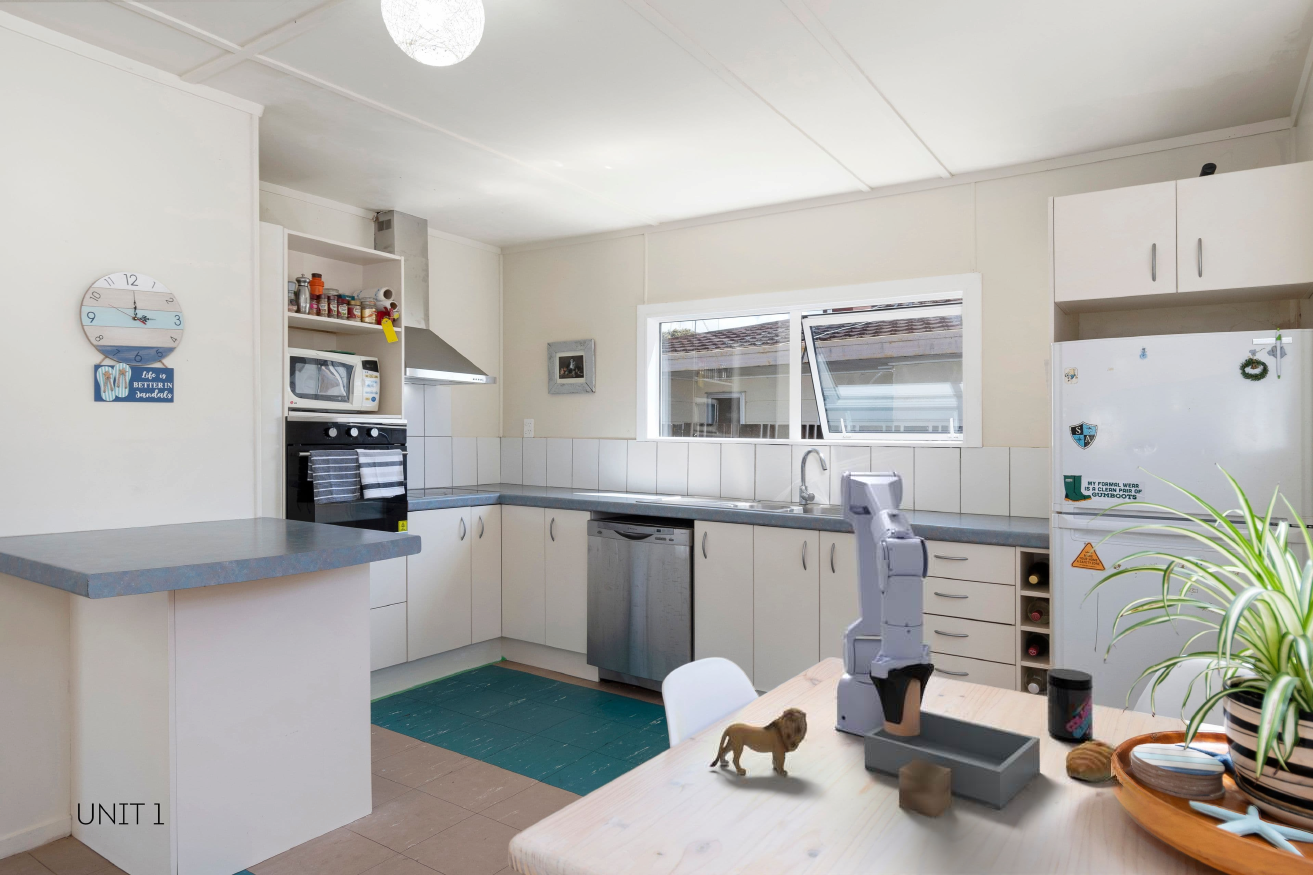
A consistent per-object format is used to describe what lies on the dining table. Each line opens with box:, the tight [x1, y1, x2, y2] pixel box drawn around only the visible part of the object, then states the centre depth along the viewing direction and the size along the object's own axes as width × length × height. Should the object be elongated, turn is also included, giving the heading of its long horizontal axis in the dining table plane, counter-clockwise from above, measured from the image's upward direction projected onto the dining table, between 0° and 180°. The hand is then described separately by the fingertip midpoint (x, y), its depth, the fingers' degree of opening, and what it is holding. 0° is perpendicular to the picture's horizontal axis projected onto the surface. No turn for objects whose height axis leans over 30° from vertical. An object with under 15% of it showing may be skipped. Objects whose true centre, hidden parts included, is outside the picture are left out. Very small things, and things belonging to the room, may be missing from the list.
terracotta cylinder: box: [884, 676, 921, 736], centre depth 111 cm, size 5×5×7 cm
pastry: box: [1065, 740, 1115, 783], centre depth 114 cm, size 9×7×4 cm
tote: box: [864, 709, 1041, 811], centre depth 115 cm, size 20×17×5 cm
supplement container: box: [1046, 668, 1094, 744], centre depth 129 cm, size 7×7×10 cm
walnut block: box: [898, 759, 952, 820], centre depth 103 cm, size 5×5×5 cm
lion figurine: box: [709, 707, 808, 777], centre depth 115 cm, size 15×5×9 cm, turn 93°
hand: (902, 717), depth 110 cm, fingers closed on terracotta cylinder, 5 cm apart
